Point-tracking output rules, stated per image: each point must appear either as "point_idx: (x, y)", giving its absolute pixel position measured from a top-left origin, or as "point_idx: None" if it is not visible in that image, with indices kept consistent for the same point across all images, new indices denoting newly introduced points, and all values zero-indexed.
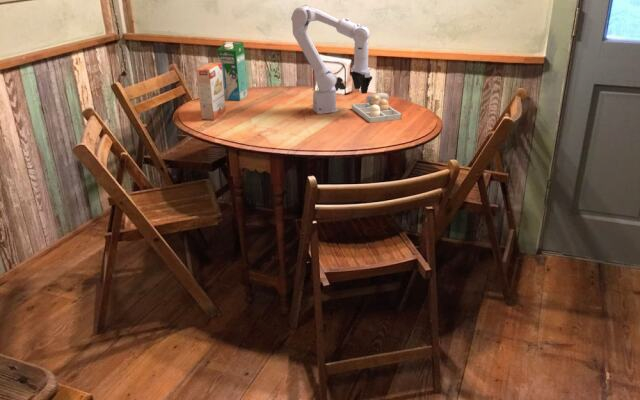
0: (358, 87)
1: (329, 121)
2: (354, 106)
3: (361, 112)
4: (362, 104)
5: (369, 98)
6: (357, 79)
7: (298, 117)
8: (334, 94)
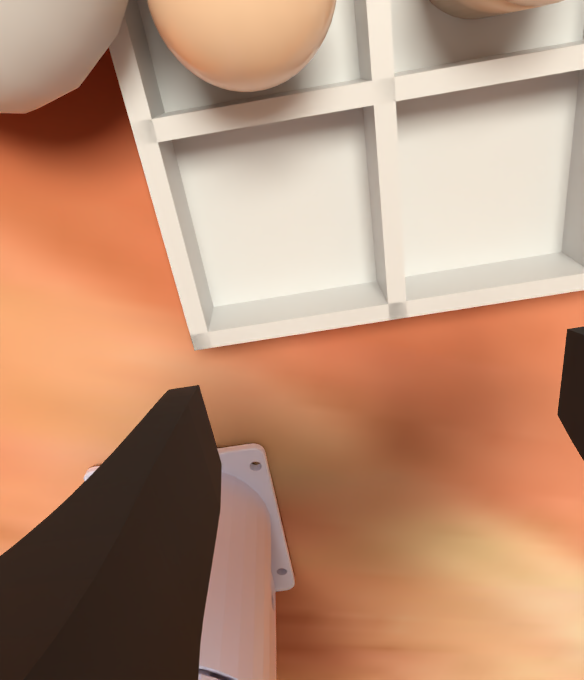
0: (203, 430)
1: (494, 530)
2: (286, 334)
3: (524, 294)
4: (177, 207)
5: (75, 80)
6: (165, 615)
7: (328, 671)
8: (231, 635)
